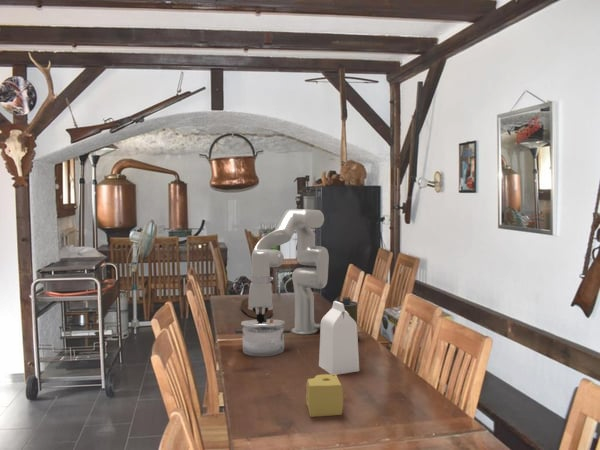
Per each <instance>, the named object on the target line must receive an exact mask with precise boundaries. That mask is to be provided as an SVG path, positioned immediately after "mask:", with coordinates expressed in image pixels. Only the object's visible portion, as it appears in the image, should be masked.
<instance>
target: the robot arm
mask: <svg viewBox="0 0 600 450" xmlns="http://www.w3.org/2000/svg"><path fill="white" fill-rule="evenodd" d="M324 222H325V216H324V212H322V211H321V210H320V209H307V208H305V209H303V208H297V209H296V208H290V209H287V210H285V211H284V213H283V215H282V216H281V217H280V219H279V221H278V223H277V225H276V226H275V229H274V230H272V231H271V232H269V233H267V234H266V235H265V236H263V237H262V238H260V240H258V242H257V243H256V245H255V246H254V248H253V250H252V253H251V257H250V258H251V282H250V284H249V291H248V297H249V300H248V304H249V306H248V309H250V310H253V311H254V312H255V313H256V314H257V318H256V320H257V321H258V324H262V323H263V322H264V314H265V313H266V312H267V311H268V310H272V309H273V310H274V305H273V304H274V296H273V295H274V293H273V284H272V283H271V282H273V281H274V278H273V277H272V276H270V274H271V273H270V272H271V268H277V267H280V266H282V264H283V263H284V260H285V257H284V256H285V255H284V254H283V253H282V251H280V250H278V249H272V248H275V247H277V246H282V245H284V244H287V243H289V242H290V241H291V239H292V238H293V235H294V234H295V232H296V235H297V245H296V246H297V247H296V261H297V263H298V264H299V265H301V266H302V265H303V266H315V267H316V268H315V267H314V268H312V267H298V268H297V267H296V268H295V269H294V270H293V272H292V276H291V279H292V285H293V292H294V297H293V298H294V327H292V328H291V333H293V334H295V335H313V334H316V333H317V332H318V329H321V323H316V322H315V297H314V293H313V291H312V289H324V288H325V287H326V286H327V284H328V279H329V278H328V277H329V263H330V262H329V259H330V257H329V256H330V255H329V252H328V248H326V247H324V246H320V245H316V244H315V242H316V236H315V233H314V230H313V229H314V228H315V229H316V228H321V227H322V226H323V225H324ZM312 228H313V229H312ZM259 307H262V312H261V314H260V311H259Z"/></svg>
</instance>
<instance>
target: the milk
mask: <svg viewBox="0 0 600 450" xmlns="http://www.w3.org/2000/svg"><path fill="white" fill-rule="evenodd" d="M320 324H321V328H319V329H320V332H319V336H320V337H319V352H318V353H319V357H318V367H320V368H321V369H322V370H324V371H326V372H327V373H328V374H336V375H337V376H338V375H342V374H349V373H355V372H360V360H359V359H360V358H359V357H360V356H359V342H358V341H359V340H358V339H359V338H358V323H357V324H356V322H355V321H354V319H352V318H351V317H350V316H349V313H348V312H347V311H345V309H344V304H342V303H340V302H339V301H337V300H334V301H333V302H332V306H331V308H330V309H329V311H328V312H326V314H324V315H323V316H322V319H321V321H320Z"/></svg>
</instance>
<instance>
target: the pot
mask: <svg viewBox="0 0 600 450" xmlns="http://www.w3.org/2000/svg"><path fill="white" fill-rule="evenodd" d="M291 333H292V328H285V327H284V325H281V326H271V327H250V326H243V327H242V328H239V329H238V328H237V329H235V334H242V353H243V354H244V355H247V356H250V357H251V356H252V357H274V356H276V355H279V354H282V353H283V352H284V351H285V334H291Z"/></svg>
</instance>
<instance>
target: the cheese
mask: <svg viewBox="0 0 600 450" xmlns="http://www.w3.org/2000/svg"><path fill="white" fill-rule="evenodd" d="M305 385H306V387H305V388H306V395H305V403H306V406H307V408H308V413H309V416H310V417H311V418H312V417H313V418H314V417H327V416H328V417H330V416H342V413H343V408H344V391H343V387H342V384H341V381H340V380H339V378H338V375H336V374H330V373H328V374H317V375H315V376H314V378H308V379H307V382H306V384H305Z"/></svg>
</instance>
